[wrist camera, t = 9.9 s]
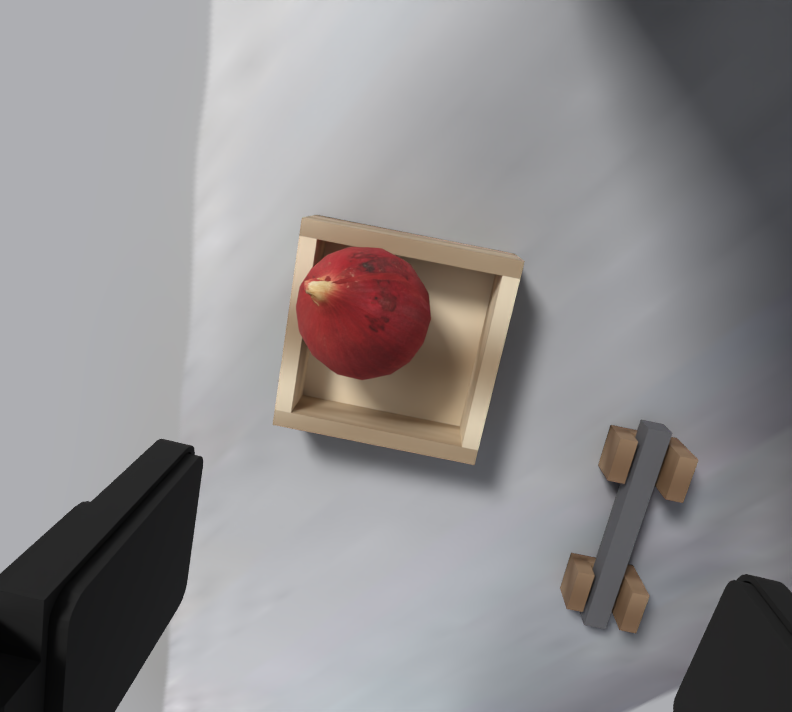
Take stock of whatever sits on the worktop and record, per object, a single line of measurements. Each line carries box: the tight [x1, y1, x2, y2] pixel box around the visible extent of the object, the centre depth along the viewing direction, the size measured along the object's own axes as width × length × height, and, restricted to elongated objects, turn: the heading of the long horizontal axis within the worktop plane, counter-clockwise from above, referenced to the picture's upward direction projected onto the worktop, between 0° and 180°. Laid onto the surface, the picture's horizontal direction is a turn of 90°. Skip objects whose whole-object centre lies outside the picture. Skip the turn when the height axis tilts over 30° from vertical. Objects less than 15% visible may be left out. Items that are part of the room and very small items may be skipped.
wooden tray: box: [273, 215, 525, 465], centre depth 30 cm, size 10×10×4 cm
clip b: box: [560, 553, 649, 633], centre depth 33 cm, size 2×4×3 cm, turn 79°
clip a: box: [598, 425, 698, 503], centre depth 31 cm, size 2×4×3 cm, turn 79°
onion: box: [296, 247, 431, 380], centre depth 26 cm, size 6×6×8 cm
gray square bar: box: [580, 420, 672, 629], centre depth 32 cm, size 12×1×1 cm, turn 169°
